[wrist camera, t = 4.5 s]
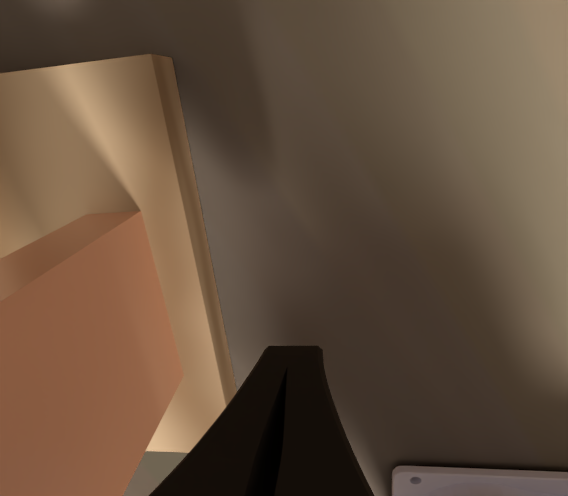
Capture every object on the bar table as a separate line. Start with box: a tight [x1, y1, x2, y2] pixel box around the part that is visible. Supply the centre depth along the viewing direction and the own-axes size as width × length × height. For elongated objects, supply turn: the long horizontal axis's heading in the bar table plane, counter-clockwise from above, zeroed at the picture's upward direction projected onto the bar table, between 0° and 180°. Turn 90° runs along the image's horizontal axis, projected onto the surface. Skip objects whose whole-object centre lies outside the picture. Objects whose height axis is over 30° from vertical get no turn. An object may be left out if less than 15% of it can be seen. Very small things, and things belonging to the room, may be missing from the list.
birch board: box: [0, 54, 237, 453], centre depth 15 cm, size 14×16×2 cm
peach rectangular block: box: [0, 211, 184, 496], centre depth 10 cm, size 2×7×8 cm, turn 6°
